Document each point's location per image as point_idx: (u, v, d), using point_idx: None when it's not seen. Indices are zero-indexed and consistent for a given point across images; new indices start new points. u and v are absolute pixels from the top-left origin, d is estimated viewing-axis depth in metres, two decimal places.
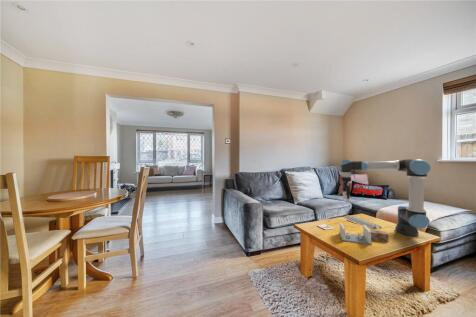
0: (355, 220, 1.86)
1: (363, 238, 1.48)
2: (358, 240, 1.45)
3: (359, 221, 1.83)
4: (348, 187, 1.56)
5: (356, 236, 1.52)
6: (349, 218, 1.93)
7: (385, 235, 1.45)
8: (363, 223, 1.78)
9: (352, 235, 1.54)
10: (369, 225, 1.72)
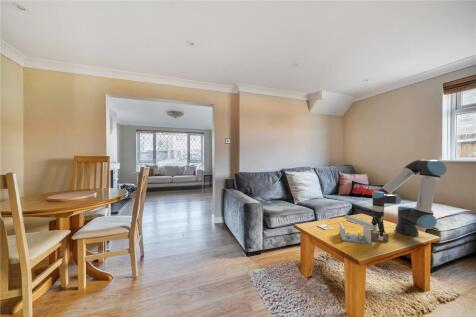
0: (354, 220, 1.86)
1: (363, 238, 1.48)
2: (358, 240, 1.45)
3: (358, 221, 1.82)
4: (381, 224, 1.42)
5: (356, 236, 1.52)
6: (348, 218, 1.93)
7: (385, 235, 1.45)
8: (362, 223, 1.78)
9: (352, 235, 1.54)
10: (368, 225, 1.72)
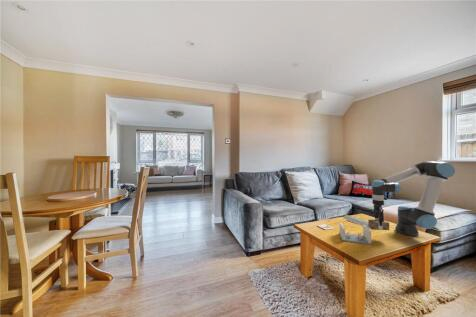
0: (354, 220, 1.86)
1: (363, 238, 1.48)
2: (358, 240, 1.45)
3: (358, 221, 1.82)
4: (381, 214, 1.42)
5: (356, 236, 1.52)
6: (348, 218, 1.93)
7: (386, 224, 1.45)
8: (362, 223, 1.78)
9: (352, 235, 1.54)
10: None
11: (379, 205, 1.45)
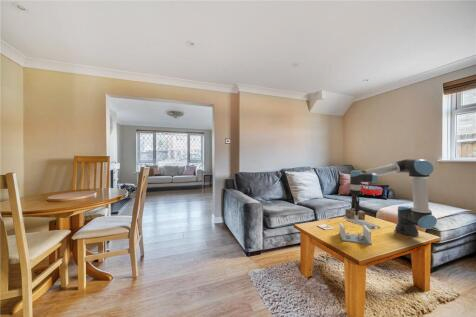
0: (354, 220, 1.86)
1: (363, 238, 1.48)
2: (358, 240, 1.45)
3: (358, 221, 1.82)
4: (357, 203, 1.43)
5: (356, 236, 1.52)
6: None
7: (362, 213, 1.45)
8: (362, 223, 1.78)
9: (352, 235, 1.54)
10: (368, 225, 1.72)
11: (356, 195, 1.45)
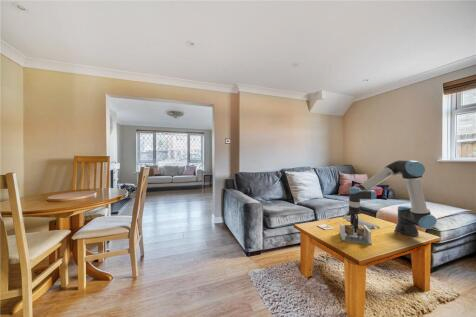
0: None
1: (363, 238, 1.48)
2: (358, 240, 1.45)
3: None
4: (356, 221, 1.43)
5: None
6: (347, 218, 1.93)
7: (361, 230, 1.46)
8: (361, 223, 1.78)
9: (352, 235, 1.54)
10: (367, 225, 1.72)
11: (355, 212, 1.46)
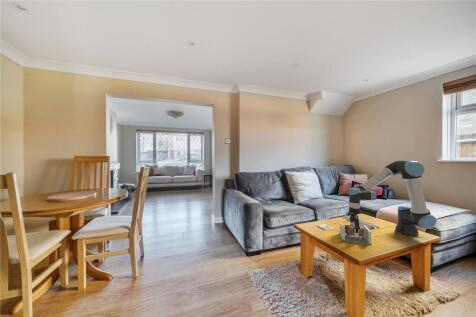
0: None
1: (363, 238, 1.48)
2: (358, 240, 1.45)
3: None
4: (357, 220, 1.42)
5: None
6: (347, 218, 1.93)
7: (361, 230, 1.46)
8: (361, 223, 1.78)
9: (352, 235, 1.54)
10: (367, 225, 1.72)
11: None
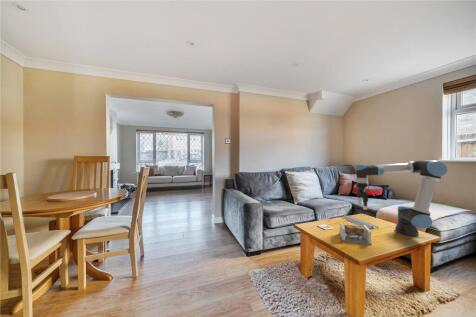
0: (352, 220, 1.86)
1: (363, 238, 1.48)
2: (358, 240, 1.45)
3: (356, 221, 1.82)
4: (365, 194, 1.49)
5: (356, 236, 1.52)
6: (346, 218, 1.93)
7: (361, 230, 1.46)
8: (360, 223, 1.78)
9: (352, 235, 1.54)
10: (366, 225, 1.72)
11: None
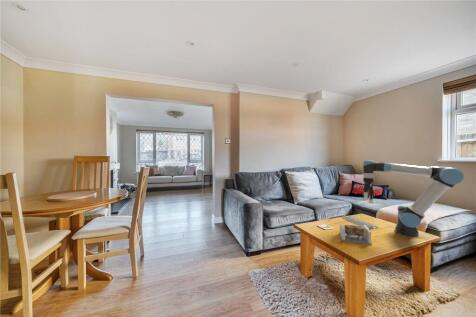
0: (352, 220, 1.86)
1: (363, 238, 1.48)
2: (358, 240, 1.45)
3: (356, 221, 1.82)
4: (371, 188, 1.58)
5: (356, 236, 1.52)
6: (346, 218, 1.93)
7: (361, 230, 1.46)
8: (360, 223, 1.77)
9: (352, 235, 1.54)
10: (366, 225, 1.72)
11: None
